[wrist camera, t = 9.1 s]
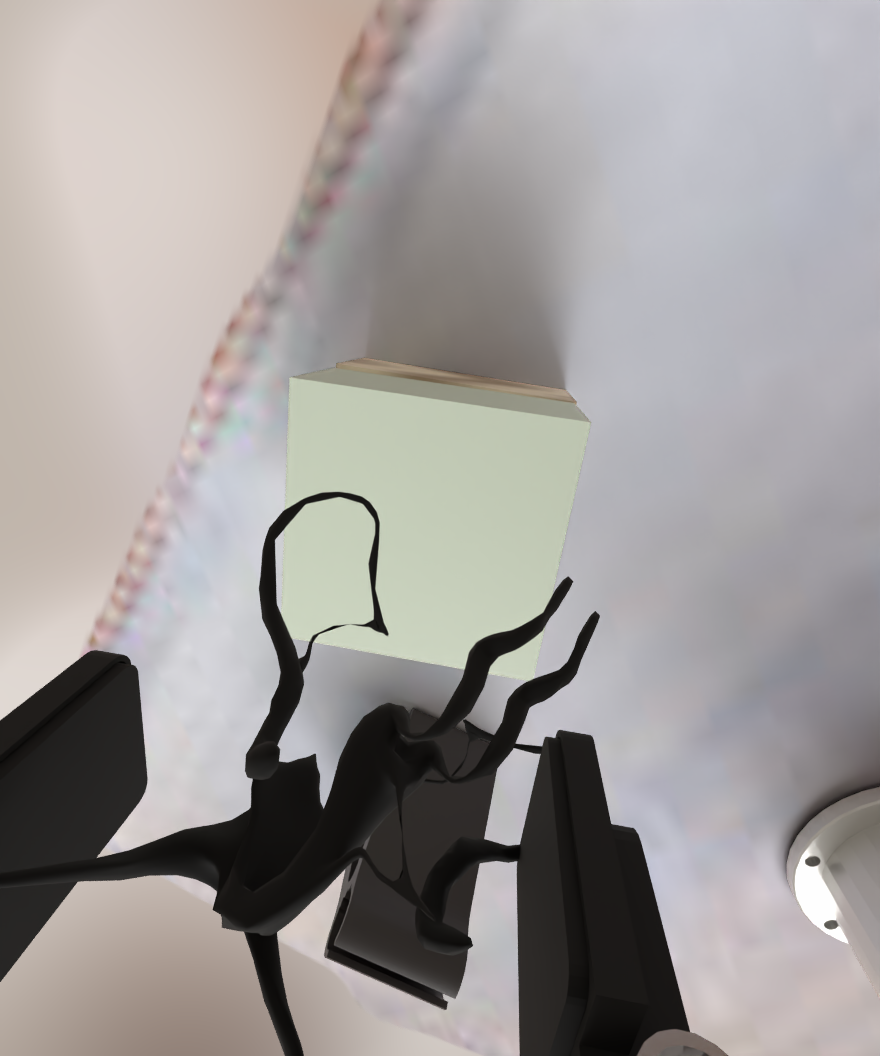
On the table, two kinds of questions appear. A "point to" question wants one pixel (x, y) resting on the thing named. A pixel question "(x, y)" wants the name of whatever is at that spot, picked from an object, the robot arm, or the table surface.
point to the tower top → (426, 513)
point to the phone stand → (414, 878)
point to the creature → (332, 798)
